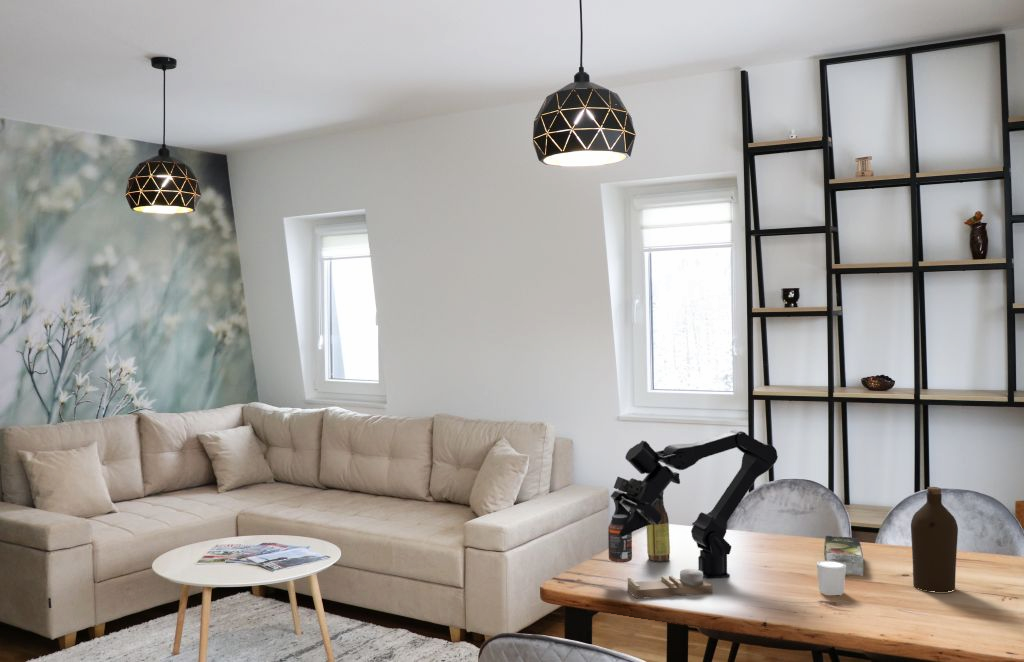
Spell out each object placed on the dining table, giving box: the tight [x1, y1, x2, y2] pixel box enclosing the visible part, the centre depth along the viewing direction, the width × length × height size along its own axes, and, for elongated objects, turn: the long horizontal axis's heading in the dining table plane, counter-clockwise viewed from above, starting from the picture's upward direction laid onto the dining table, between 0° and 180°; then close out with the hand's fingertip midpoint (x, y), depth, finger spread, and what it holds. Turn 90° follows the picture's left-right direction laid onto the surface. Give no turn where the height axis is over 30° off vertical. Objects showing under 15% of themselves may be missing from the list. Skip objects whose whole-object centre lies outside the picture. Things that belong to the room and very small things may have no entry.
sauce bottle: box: [646, 490, 671, 562], centre depth 246 cm, size 6×6×20 cm
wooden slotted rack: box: [627, 568, 713, 599], centre depth 217 cm, size 20×6×4 cm, turn 101°
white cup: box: [816, 560, 846, 596], centre depth 216 cm, size 7×7×7 cm
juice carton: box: [823, 535, 865, 576], centre depth 240 cm, size 20×10×6 cm, turn 162°
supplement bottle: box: [607, 514, 633, 564], centre depth 223 cm, size 6×6×11 cm
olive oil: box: [910, 486, 959, 592], centre depth 219 cm, size 11×11×25 cm
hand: (615, 532), depth 223 cm, fingers closed on supplement bottle, 6 cm apart
